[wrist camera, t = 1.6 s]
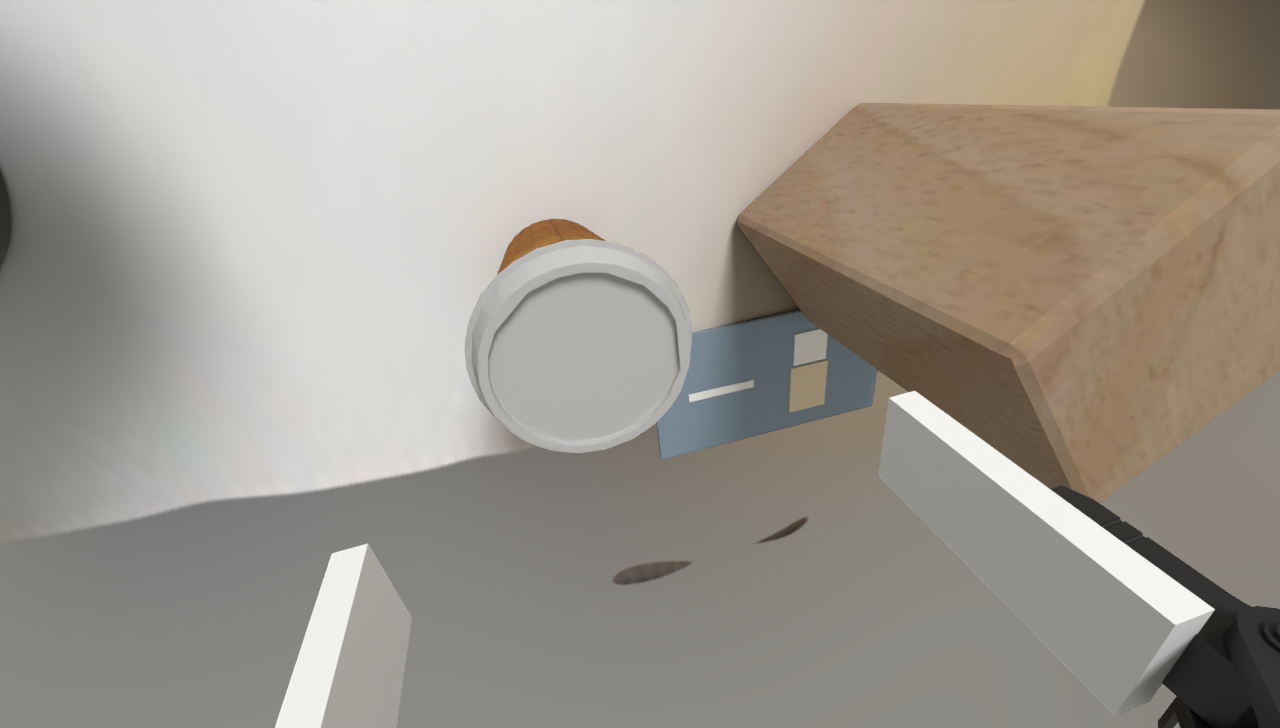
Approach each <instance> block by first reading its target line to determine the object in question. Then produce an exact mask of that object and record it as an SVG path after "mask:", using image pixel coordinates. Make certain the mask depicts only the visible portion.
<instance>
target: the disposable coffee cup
mask: <svg viewBox="0 0 1280 728" xmlns="http://www.w3.org/2000/svg"><path fill="white" fill-rule="evenodd" d="M691 344H692V324H691V320H690V315H689V310H688V307H687V304H686V302H685V299H684V296H683V295H682V293H681V291H680V290H679V288H678V286H677V285H676V283H675V282H674V281H673V279H672V278H671V277H670V276H669V275H668V273H667V272H666V271H665V270H664V269H663V268H662V267H660V266H659V265H658V264H656V263H655V262H654V261H652V260H651V259H650V258H648V257H647V256H646V255H644V254H642V253H640V252H638V251H636V250H633V249H631V248H629V247H627V246H624V245H621V244H619V243H615V242H608V241H605V240H604V239H602V238H600V237H599V236H597V235H596V234H594V233H593V232H591V231H589V230H588V229H586V228H585V227H583V226H581V225H579V224H577V223H575V222H572V221H568V220H562V219H550V220H544V221H540V222H537V223H534V224H532V225H530V226H528V227H526V228H525V229H523V230H522V231H521V232H520V233H519V234H518V235H516V236H515V237H514V239H513V240H512V242H511V243H510V244H509V246H508V248H507V250H506V253H505V255H504V258H503V261H502V264H501V266H500V269H499V271H498V274H497V276H496V277H495V279H494V280H493V281H492V282H491V283H490V285H489V286H488V287H487V288H486V290H485V291H484V292H483V293H482V295H481V296H480V298H479V300H478V302H477V304H476V306H475V308H474V310H473V313H472V315H471V318H470V321H469V324H468V328H467V335H466V341H465V356H466V366H467V371H468V374H469V377H470V380H471V383H472V386H473V388H474V390H475V391H476V393H477V395H478V397H479V399H480V400H481V402H482V403H483V404H484V405H485V406H486V408H487V409H488V410H489V411H490V412H491V413H492V415H493V416H494V417H495V418H497V419H498V420H499V421H500V422H501V423H502V424H503V425H504V426H505V427H506V428H507V429H508V430H509V431H510V432H511V433H513V434H514V435H516V436H517V437H519V438H521V439H522V440H524V441H526V442H528V443H530V444H533V445H535V446H537V447H541V448H544V449H548V450H552V451H557V452H569V453H584V452H591V451H598V450H605V449H608V448H611V447H613V446H616V445H619V444H621V443H624V442H626V441H629V440H632V439H633V438H635V437H636V436H638V435H639V434H641V433H642V432H644V431H645V430H646V429H648V428H649V427H651V426H652V425H654V424H655V423H656V422H657V421H658V420H659V419H660V418H661V417H662V416H663V415H664V414H665V413H666V412H667V411H668V409H669V408H670V407H671V406H672V404H673V403H674V401H675V400H676V398H677V396H678V395H679V393H680V392H681V389H682V387H683V384H684V381H685V379H686V376H687V373H688V369H689V365H690V352H691Z"/></svg>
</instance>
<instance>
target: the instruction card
mask: <svg viewBox="0 0 1280 728" xmlns="http://www.w3.org/2000/svg"><path fill="white" fill-rule="evenodd" d="M876 374H877V369H876V368H874V367H873V366H872V365H870V364H869V363H867V362H866V361H865V360H863V359H862V358H860V357H859V356H858V355H856V354H855V353H853V352H852V351H851V350H849V349H848V348H846V347H845V346H844V345H842V344H841V343H839V342H838V341H837V340H835V339H834V338H832V337H831V336H829V335H828V334H827V333H825V332H824V331H822V330H821V329H820V328H818V327H817V326H815V325H814V324H813V323H811V322H810V321H808V319H807V318H806V317H805V315H804V314H803V313H802V311H801V310H796V311H792V312H787V313H782V314H778V315H773V316H769V317H764V318H760V319H755V320H750V321H746V322H741V323H737V324H732V325H727V326H723V327H718V328H714V329H709V330H704V331H700V332H695V333H692V344H691V352H690V365H689V369H688V373H687V376H686V379H685V381H684V384H683V387H682V389H681V392H680V393H679V395H678V396H677V398H676V400H675V401H674V403H673V404H672V406H671V407H670V408H669V409H668V411H667V412H666V413H665V414H664V415H663V416H662V417H661V418H660V419H659V420H658V421H657V430H658V439H659V448H660V456H661V459H662V460H663V459H667V458H671V457H675V456H679V455H682V454H686V453H690V452H694V451H698V450H702V449H706V448H709V447H714V446H717V445H721V444H725V443H729V442H733V441H737V440H741V439H745V438H749V437H753V436H756V435H760V434H764V433H768V432H772V431H776V430H780V429H784V428H788V427H791V426H795V425H799V424H803V423H807V422H811V421H815V420H818V419H822V418H826V417H830V416H834V415H838V414H842V413H846V412H850V411H854V410H858V409H861V408H865V407H869V406H872V402H873V395H874V387H875V381H876Z"/></svg>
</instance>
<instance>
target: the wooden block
mask: <svg viewBox="0 0 1280 728" xmlns="http://www.w3.org/2000/svg"><path fill="white" fill-rule="evenodd" d="M736 220H737V224H738V227H739V228H740V230H741V231H742V232H743V234H744V235H745V236H746V238H747V239H748V240H749V242H750V243H751V244H752V246H753V247H754V248H755V250H756V251H757V252H758V254H759V255H760V256H761V258H762V259H763V260H764V262H765V263H766V264H767V266H768V267H769V269H770V270H771V271H772V273H773V274H774V275H775V277H776V278H777V279H778V281H779V282H780V283H781V285H782V286H783V287H784V289H785V290H786V291H787V293H788V294H789V295H790V297H791V298H792V299H793V301H794V302H795V303H796V305H797V306H798V307H799V309H800V310H801V311H802V313H803V314H804V315H805V317H806V318H807V319H808V321H810V322H811V323H813V324H814V325H815V326H817V327H818V328H820V329H821V330H822V331H824V332H825V333H827V334H828V335H829V336H831V337H832V338H834V339H835V340H837V341H838V342H839V343H841V344H842V345H844V346H845V347H846V348H848V349H849V350H851V351H852V352H853V353H855V354H856V355H858V356H859V357H860V358H862V359H863V360H865V361H866V362H867V363H869V364H870V365H872V366H873V367H874V368H876V369H877V370H879V371H880V372H882V373H883V374H884V375H886V376H887V377H889V378H890V379H891V380H893V381H894V382H896V383H897V384H899V385H900V386H901V387H903V388H904V389H905V390H907V391H908V392H912V391H916V392H917V393H919V394H920V395H921V396H923V397H924V398H926V399H927V400H928V401H930V402H931V403H932V404H934V405H935V406H937V407H938V408H939V409H941V410H942V411H943V412H945V413H946V414H948V415H949V416H950V417H952V418H953V419H954V420H956V421H957V422H959V423H960V424H961V425H963V426H964V427H965V428H967V429H968V430H969V431H971V432H972V433H974V434H975V435H976V436H978V437H979V438H980V439H982V440H983V441H985V442H986V443H987V444H989V445H990V446H991V447H993V448H994V449H996V450H997V451H998V452H1000V453H1001V454H1002V455H1004V456H1005V457H1007V458H1008V459H1009V460H1011V461H1012V462H1013V463H1015V464H1016V465H1017V466H1019V467H1020V468H1022V469H1023V470H1024V471H1026V472H1027V473H1028V474H1030V475H1031V476H1033V477H1034V478H1035V479H1037V480H1038V481H1039V482H1041V483H1042V484H1044V485H1045V486H1046V487H1048V488H1049V489H1052V488H1055V487H1058V486H1061V485H1062V486H1064V487H1067V488H1069V489H1071V490H1074V491H1076V492H1078V493H1080V494H1083V495H1085V496H1087V497H1090V498H1092V499H1094V500H1095V501H1097V502H1098V503H1101V502H1102V501H1103V500H1105V499H1106V498H1107V497H1109V496H1110V495H1111V494H1113V493H1114V492H1116V491H1117V490H1118V489H1120V488H1121V487H1122V486H1124V485H1125V484H1127V483H1128V482H1129V481H1131V480H1132V479H1133V478H1135V477H1136V476H1137V475H1139V474H1140V473H1142V472H1143V471H1144V470H1146V469H1147V468H1148V467H1149V466H1151V465H1152V464H1153V463H1155V462H1156V461H1158V460H1159V459H1160V458H1162V457H1163V456H1164V455H1166V454H1167V453H1168V452H1170V451H1171V450H1173V449H1174V448H1175V447H1177V446H1178V445H1180V444H1181V443H1182V442H1184V441H1185V440H1186V439H1188V438H1189V437H1190V436H1192V435H1193V434H1194V433H1196V432H1197V431H1199V430H1200V429H1201V428H1203V427H1204V426H1205V425H1207V424H1208V423H1209V422H1211V421H1212V420H1214V419H1215V418H1216V417H1218V416H1219V415H1220V414H1222V413H1223V412H1224V411H1226V410H1227V409H1228V408H1230V407H1231V406H1233V405H1234V404H1235V403H1237V402H1238V401H1239V400H1241V399H1242V398H1243V397H1245V396H1246V395H1247V394H1249V393H1250V392H1251V391H1253V390H1254V389H1255V388H1257V387H1258V386H1260V385H1261V384H1262V383H1263V382H1265V381H1266V380H1268V379H1269V378H1271V376H1273V375H1275V374H1276V373H1277V372H1279V371H1280V110H1266V109H1265V110H1264V109H1205V108H1142V107H1141V108H1140V107H1081V106H1018V105H956V104H894V103H862V104H859V105H857V106H856V107H854V108H853V109H852V110H851V111H850V112H849V113H848V114H847V115H846V116H845V117H844V118H843V119H842V120H841V121H839V122H838V123H837V124H836V125H835V126H834V127H833V128H832V129H831V130H830V131H829V132H828V133H827V134H825V135H824V136H823V137H822V138H821V139H820V140H819V141H818V142H817V143H816V144H815V145H814V146H813V147H812V148H810V149H809V150H808V151H807V152H806V153H805V154H804V155H803V156H802V157H801V158H800V159H799V160H798V161H796V162H795V163H794V164H793V165H792V166H791V167H790V168H789V169H788V170H787V171H786V172H785V173H784V174H782V175H781V176H780V177H779V178H778V179H777V180H776V181H775V182H774V183H773V184H772V185H771V186H770V187H769V188H767V189H766V190H765V191H764V192H763V193H762V194H761V195H760V196H759V197H758V198H757V199H756V200H755V201H753V202H752V203H751V204H750V205H749V206H748V207H747V208H746V209H745V210H744V211H743V212H742V213H741V214H740V215H739V216H738V217H737V219H736Z"/></svg>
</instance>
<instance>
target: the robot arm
mask: <svg viewBox="0 0 1280 728" xmlns="http://www.w3.org/2000/svg"><path fill="white" fill-rule="evenodd" d="M9 236H10V211H9V204H8V199H7V194H6V190H5V187H4V184H3V180H2V178H1V175H0V266H1V264H2V262H3V259H4V257H5V254H6V251H7V247H8V243H9ZM878 476H879V477H880V478H881V479H882V480H883V481H884V482H885V483H886V484H887V485H888V486H889V487H890V488H891V489H892V490H893V491H894V492H895V493H896V494H897V496H898V497H900V499H901V500H903V502H905V504H906V505H907V506H908V507H909V508H910V509H911V510H912V511H913V512H914V513H915V514H916V515H917V516H918V517H919V518H920V519H921V520H922V521H923V522H924V523H925V524H926V525H927V526H928V527H929V528H930V529H931V530H932V531H933V532H934V533H935V534H936V535H937V536H938V537H939V538H940V539H941V540H942V541H943V542H944V543H945V544H946V545H947V546H948V547H949V548H950V549H951V550H952V551H953V552H954V553H955V554H956V555H957V556H958V557H959V558H960V559H961V561H963V562H964V563H965V565H967V566H968V567H969V569H970V570H971V571H972V572H973V573H974V574H975V575H976V576H977V577H978V578H979V579H980V580H981V581H982V582H983V583H984V584H985V585H986V586H988V588H989V589H990V590H991V591H992V592H993V593H994V594H995V595H996V596H997V597H998V598H999V599H1000V600H1001V601H1002V602H1003V603H1004V604H1005V605H1006V606H1007V607H1008V608H1009V609H1010V610H1011V611H1012V612H1013V613H1014V614H1015V615H1016V616H1017V617H1018V618H1019V619H1020V620H1021V621H1022V622H1023V624H1025V626H1026V627H1028V629H1029V630H1030V631H1031V632H1032V633H1033V634H1034V635H1035V636H1036V637H1037V638H1038V639H1039V640H1040V641H1041V642H1042V643H1043V644H1044V645H1045V646H1046V647H1047V648H1048V649H1049V650H1050V651H1051V652H1052V653H1053V654H1054V655H1055V656H1056V657H1057V658H1058V659H1059V660H1060V661H1061V662H1062V663H1063V664H1064V665H1065V666H1066V667H1067V668H1068V669H1069V670H1070V671H1071V672H1072V673H1073V674H1074V675H1075V676H1076V677H1077V678H1078V679H1079V680H1080V681H1081V682H1082V683H1083V684H1084V685H1085V686H1086V687H1087V689H1088V690H1090V692H1092V693H1093V695H1094V696H1095V697H1097V699H1098V700H1099V701H1100V702H1101V703H1102V704H1103V705H1104V706H1105V707H1106V708H1107V709H1108V710H1109V711H1110V712H1111V713H1112V714H1113V715H1114V716H1116V715H1118V714H1121V713H1123V712H1126V711H1128V710H1130V709H1133V708H1135V707H1138V706H1140V705H1142V704H1145V703H1147V702H1149V701H1150V700H1151V698H1152V697H1153V695H1154V694H1155V693H1156V691H1157V690H1158V688H1159V687H1160V686H1161V684H1162V683H1163V684H1164V685H1165V686H1166V687H1167V688H1169V689H1170V690H1171V691H1172V692H1173V693H1174V694H1175V695H1176V696H1177V697H1176V698H1175V699H1174V701H1173V702H1172V703H1171V705H1170V706H1169V707H1168V709H1167V710H1166V711H1165V713H1164V714H1163V715H1162V717H1161V718H1160V719H1159V720H1158V728H1173V727H1174V726H1175V725H1176V724H1177V722H1179V725H1180V728H1280V609H1277V608H1268V607H1260V606H1256V607H1251V606H1249V605H1247V604H1245V603H1243V602H1242V601H1240V600H1239V599H1237V598H1235V597H1234V596H1232V595H1231V594H1229V593H1228V592H1226V591H1225V590H1223V589H1222V588H1221V587H1219V586H1218V585H1216V584H1215V583H1213V582H1212V581H1210V580H1209V579H1208V578H1206V577H1205V576H1203V575H1202V574H1200V573H1199V572H1197V571H1196V570H1195V569H1193V568H1192V567H1190V566H1189V565H1187V564H1186V563H1184V562H1183V561H1182V560H1180V559H1179V558H1177V557H1176V556H1174V555H1173V554H1172V553H1170V552H1169V551H1167V550H1166V549H1164V548H1163V547H1161V546H1160V545H1159V544H1157V543H1156V542H1154V541H1153V540H1151V539H1150V538H1148V537H1147V538H1145V537H1143V535H1142V533H1141V532H1140V531H1138V530H1137V529H1136V528H1134V527H1133V526H1131V525H1130V524H1128V523H1127V522H1122V521H1121V520H1120V517H1118V516H1117V515H1115V514H1114V513H1112V512H1111V511H1110V510H1108V509H1107V508H1105V507H1104V506H1102V505H1101V504H1099V503H1098V502H1097V501H1095V500H1094V499H1092V498H1090V497H1087V496H1085V495H1083V494H1080V493H1078V492H1076V491H1074V490H1071V489H1069V488H1067V487H1064V486H1062V485H1061V486H1058V487H1055V488H1052V489H1049V488H1048V487H1046V486H1045V485H1044V484H1042V483H1041V482H1039V481H1038V480H1037V479H1035V478H1034V477H1033V476H1031V475H1030V474H1028V473H1027V472H1026V471H1024V470H1023V469H1022V468H1020V467H1019V466H1017V465H1016V464H1015V463H1013V462H1012V461H1011V460H1009V459H1008V458H1007V457H1005V456H1004V455H1002V454H1001V453H1000V452H998V451H997V450H996V449H994V448H993V447H991V446H990V445H989V444H987V443H986V442H985V441H983V440H982V439H980V438H979V437H978V436H976V435H975V434H974V433H972V432H971V431H969V430H968V429H967V428H965V427H964V426H963V425H961V424H960V423H959V422H957V421H956V420H954V419H953V418H952V417H950V416H949V415H948V414H946V413H945V412H943V411H942V410H941V409H939V408H938V407H937V406H935V405H934V404H932V403H931V402H930V401H928V400H927V399H926V398H924V397H923V396H921V395H920V394H919V393H917V392H916V391H912V392H909V393H905V394H901V395H898V396H894V397H890V398H889V403H888V409H887V417H886V424H885V431H884V438H883V445H882V452H881V459H880V466H879V473H878ZM411 620H412V618H411V616H410V614H409V612H408V611H407V609H406V607H405V605H404V604H403V602H402V601H401V599H400V597H399V595H398V594H397V592H396V591H395V589H394V587H393V585H392V584H391V582H390V580H389V578H388V577H387V575H386V573H385V572H384V570H383V568H382V567H381V565H380V563H379V562H378V560H377V558H376V556H375V555H374V553H373V551H372V550H371V548H370V546H369V545H368V544H365V545H361V546H357V547H354V548H350V549H347V550H343V551H339V552H336V553H332V555H331V558H330V561H329V564H328V567H327V570H326V573H325V576H324V579H323V582H322V585H321V589H320V592H319V595H318V598H317V601H316V604H315V607H314V610H313V613H312V616H311V619H310V622H309V625H308V628H307V631H306V635H305V638H304V641H303V643H302V646H301V649H300V653H299V656H298V659H297V662H296V665H295V668H294V671H293V674H292V677H291V680H290V683H289V686H288V689H287V692H286V695H285V699H284V701H283V705H282V708H281V711H280V714H279V717H278V720H277V723H276V726H275V728H396V727H397V719H398V712H399V705H400V698H401V691H402V684H403V677H404V669H405V662H406V656H407V649H408V641H409V634H410V627H411Z"/></svg>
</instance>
